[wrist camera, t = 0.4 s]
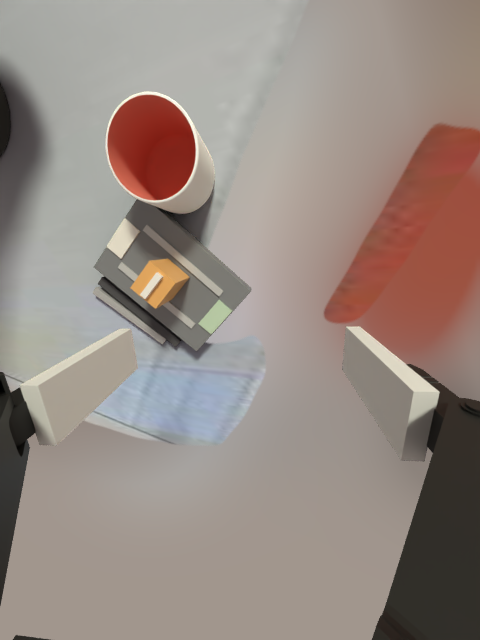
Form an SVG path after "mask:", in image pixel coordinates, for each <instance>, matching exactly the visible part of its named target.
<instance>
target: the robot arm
mask: <svg viewBox="0 0 480 640" xmlns="http://www.w3.org/2000/svg"><path fill="white" fill-rule="evenodd" d="M9 133H10V113H9V107H8V103H7V99H6V96H5V93H4V91H3V88H2V86H1V84H0V156H1V155H2V153H3V152H4V150H5V148H6V145H7V142H8V139H9ZM137 368H138V365H137V360H136V354H135V348H134V343H133V337H132V331H131V329H119V330H117V331H115V332H113V333H111V334H110V335H108V336H106V337H104V338H103V339H101V340H99V341H97V342H95V343H94V344H92V345H90V346H88V347H87V348H85V349H83V350H81V351H80V352H78V353H76V354H74V355H72V356H71V357H69V358H67V359H65V360H64V361H62V362H60V363H58V364H56V365H55V366H53V367H51V368H49V369H48V370H46V371H44V372H42V373H41V374H39V375H37V376H35V377H33V378H32V379H30V380H28V381H26V382H25V383H23V384H21V385H20V388H18V389H16V390H15V391H13V392H10V390H9V387H8V384H7V381H6V378H5V375H4V373H3V372H0V605H1V599H2V594H3V589H4V583H5V578H6V573H7V567H8V562H9V556H10V551H11V546H12V540H13V535H14V530H15V524H16V519H17V513H18V508H19V502H20V497H21V491H22V486H23V481H24V476H25V470H26V465H27V460H28V454H29V449H30V447H29V444H28V441H27V439H28V438H29V437H31V436H32V435H33V434H34V433H36V436H37V439H38V441H39V444H40V445H52V446H57V445H58V444H59V443H60V442H61V441H62V440H63V439H64V438H65V437H66V436H68V434H70V433H71V432H72V431H73V430H74V429H75V428H76V427H77V426H78V425H79V424H80V423H81V422H82V421H83V420H84V419H85V418H86V417H87V416H88V415H89V414H90V413H92V412H93V411H94V410H95V409H96V408H97V407H98V406H99V405H100V404H101V403H102V402H103V401H104V400H105V399H106V398H107V397H108V396H109V395H110V394H111V393H112V392H113V391H114V390H116V389H117V388H118V387H119V386H120V385H121V384H122V383H123V382H124V381H125V380H126V379H127V378H128V377H129V376H130V375H131V374H132V373H133V372H134V371H135V370H136V369H137ZM342 370H343V371H344V373H345V375H346V376H347V378H348V379H349V381H350V382H351V384H352V385H353V387H354V388H355V390H356V392H357V393H358V395H359V396H360V397H361V399H362V401H363V402H364V404H365V406H366V407H367V409H368V410H369V412H370V413H371V415H372V416H373V418H374V419H375V421H376V422H377V424H378V426H379V427H380V429H381V430H382V432H383V433H384V435H385V436H386V438H387V439H388V441H389V443H390V444H391V446H392V447H393V449H394V450H395V452H396V453H397V455H398V457H399V458H400V460H403V461H425V456H426V451H427V447H428V448H429V449H430V450H431V451H432V452H433V455H432V458H431V461H430V464H429V468H428V471H427V474H426V478H425V480H424V484H423V487H422V490H421V493H420V497H419V500H418V503H417V506H416V510H415V513H414V516H413V519H412V522H411V526H410V529H409V532H408V535H407V538H406V541H405V545H404V548H403V551H402V554H401V558H400V561H399V564H398V567H397V570H396V574H395V577H394V580H393V583H392V586H391V590H390V593H389V596H388V599H387V602H386V606H385V608H384V611H383V614H382V615H381V616H380V618H379V621H378V623H377V626H376V629H375V632H374V635H373V638H372V640H480V402H479V401H476V400H471V399H466V398H459V397H458V396H456V395H455V394H454V393H452V392H451V391H449V389H447V388H446V387H445V386H443V385H442V384H441V383H438V381H437V380H435V379H434V378H431V376H430V375H429V374H428V373H426V372H425V371H424V370H422V369H420V368H418V367H416V366H413V365H411V364H405V363H403V362H402V361H401V360H400V359H399V358H397V357H396V356H395V355H394V354H393V353H391V352H390V351H389V350H387V349H386V348H385V347H384V346H383V345H381V344H380V343H379V342H378V341H377V340H375V339H374V338H373V337H372V336H370V335H369V334H368V333H367V332H366V331H364V330H363V329H362V328H361V327H346V332H345V343H344V355H343V366H342ZM13 640H49V639H41V638H34V637H26V636H18V635H16V636H15V637H14V639H13Z"/></svg>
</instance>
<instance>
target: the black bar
mask: <svg viewBox="0 0 480 640" xmlns="http://www.w3.org/2000/svg"><path fill="white" fill-rule="evenodd" d="M98 284H99V285H100V286H101V287H102V288H104V289H105V290H106V291H107V292H108V293H110V294H111V295H112V296H113V297H115V298H116V299H117V300H118V301H120V302H121V303H122V304H123V305H125V306H126V307H127V308H128V309H129V310H131V311H132V312H133V313H134V314H136V315H137V316H138V317H139V318H141V319H142V320H143V321H144V322H145V323H147V324H148V325H149V326H150V327H152V328H153V329H154V330H155V331H157V332H158V333H159V334H160V335H161V336H163V337H164V338H165V339H166V340H168V341H169V342H170V343H171V344H173V345H174V346H175V347H176V346H177V345H178V344H179V343H180V341H181V340H182V339H181V338H180V337H178V336H177V335H176V334H175V333H173V332H172V331H171V330H170V329H169V328H167V327H166V326H165V325H164V324H162V323H161V322H160V321H159V320H158V319H156V318H155V317H154V316H153V315H151V314H150V313H149V312H148V311H147V310H145V309H144V308H143V307H142V306H140V305H139V304H138V303H137V302H136V301H134V300H133V299H132V298H131V297H129V296H128V295H127V294H126V293H125V292H123V291H122V290H121V289H120V288H118V287H117V286H116V285H115V284H114V283H112V282H111V281H110V280H109V279H107V278H106V277H102V278H101V280H100V281H99V283H98Z"/></svg>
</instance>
